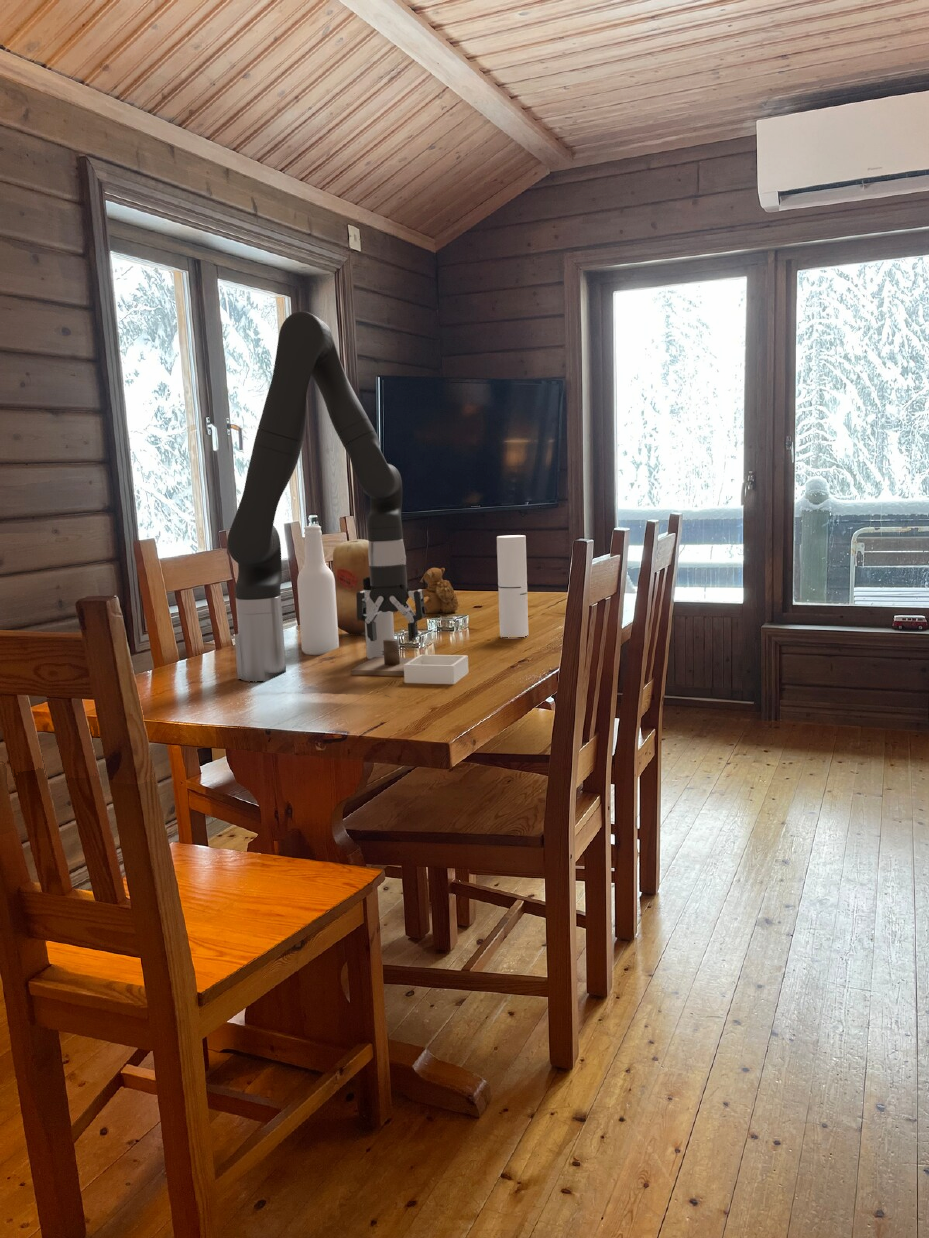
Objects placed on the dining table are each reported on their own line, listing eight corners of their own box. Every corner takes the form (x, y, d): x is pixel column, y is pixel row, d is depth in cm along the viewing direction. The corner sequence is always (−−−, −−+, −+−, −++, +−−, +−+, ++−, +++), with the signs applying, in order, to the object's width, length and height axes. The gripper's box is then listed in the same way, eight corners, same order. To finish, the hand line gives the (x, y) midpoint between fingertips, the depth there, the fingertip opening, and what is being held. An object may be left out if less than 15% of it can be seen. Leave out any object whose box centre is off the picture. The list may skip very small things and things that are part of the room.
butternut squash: (323, 639, 239) (317, 542, 235) (349, 630, 251) (343, 537, 247) (370, 640, 234) (365, 541, 230) (395, 631, 246) (390, 537, 242)
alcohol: (295, 652, 222) (286, 527, 217) (326, 646, 228) (318, 524, 223) (314, 656, 216) (306, 527, 211) (346, 651, 221) (338, 525, 217)
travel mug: (392, 666, 202) (387, 574, 199) (363, 665, 203) (358, 575, 200) (400, 660, 208) (395, 571, 205) (372, 660, 209) (367, 572, 206)
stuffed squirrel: (440, 607, 286) (438, 565, 284) (469, 612, 275) (467, 567, 273) (413, 611, 280) (411, 568, 278) (442, 616, 269) (440, 571, 267)
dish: (405, 690, 179) (403, 664, 178) (421, 678, 189) (420, 654, 188) (454, 691, 176) (453, 665, 176) (468, 679, 186) (467, 655, 185)
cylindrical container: (496, 634, 235) (492, 536, 231) (522, 632, 237) (519, 534, 233) (505, 639, 228) (502, 538, 224) (532, 636, 230) (529, 536, 226)
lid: (351, 674, 188) (349, 645, 187) (374, 661, 200) (373, 634, 199) (411, 676, 184) (410, 646, 183) (431, 662, 197) (430, 634, 196)
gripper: (347, 565, 187) (354, 644, 190) (414, 563, 183) (419, 643, 186) (361, 561, 194) (367, 637, 197) (426, 559, 190) (431, 636, 193)
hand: (393, 640), depth 191 cm, fingers open, 8 cm apart
